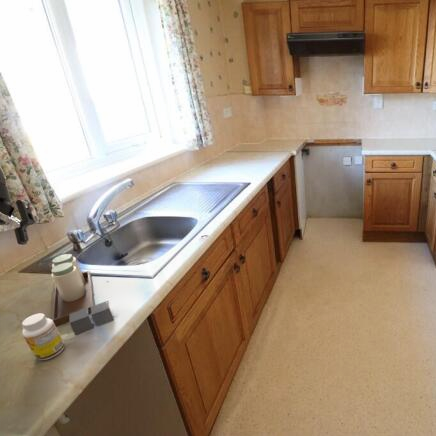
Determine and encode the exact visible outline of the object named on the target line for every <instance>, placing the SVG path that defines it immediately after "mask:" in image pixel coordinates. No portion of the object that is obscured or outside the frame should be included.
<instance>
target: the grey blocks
mask: <svg viewBox="0 0 436 436" xmlns="http://www.w3.org/2000/svg"><path fill="white" fill-rule="evenodd" d="M114 320H115V317H114V313H113V309H112V307H111V304H110V301H109V300H105V301H103V302H100V303H98V304H95V306H92V307H91V314H90V312H89V309H88V308H86V309H83V310H80V311H78V312H75V313H72V314H69V322H68V323H69V325H70V327H71V330H72V331H73V333H74V335H75V336H76V335H79V334H81V333H84V332H87V331H89V330H91V329H94V328H95V327H99V326H103V325H105V324H108V323H110V322H113V321H114ZM94 325H95V327H94Z"/></svg>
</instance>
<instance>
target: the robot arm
mask: <svg viewBox="0 0 436 436" xmlns="http://www.w3.org/2000/svg"><path fill="white" fill-rule="evenodd" d="M15 210H16V211H18V213H19V216H20V219H21V220H20V219H19V218H17V217H15V216H14V215H13V214H14V212H15ZM33 215H34V214H33V212H32V209H31V206H30V204H29V202H28V201H25V200H22V199H17V200H16V201H15V202H12V197H11V194H10V190H9V186H8V180H7V178H6V175H5V172H4V170H3V168H2V165H1V163H0V226H5V225H7V224H9V225H10V226H12V227H13V228H14V230H13V231H14V234H15V238H16V243H17V244H18V245H19V246H20V245H21V246H25V245H27V244H28V242H29V240H30V238H29V235H28V231H27V228H28V227H29V226H30V225H34V224H35V223H36V221H35V217H34V216H33Z"/></svg>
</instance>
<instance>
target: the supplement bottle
mask: <svg viewBox="0 0 436 436" xmlns="http://www.w3.org/2000/svg"><path fill="white" fill-rule="evenodd" d="M21 325H22V327H23V329H22V332H21V334H22V337H23V339H24V340H25V342H26V344H27V345H28V347H29V348H30V350H31V352H32V353H33V355H34V357H35V359H37V360H38V361H47V360H50V359H53V358H54V357H57V356H59V354H61V353H62V352H63V350H64V349H65V347H66V344H65V341H64V339H63V337H62V335H61V334H60V332H59V330H58V328H57V326H55V324H54V322H53V320H51V318H49V317H46V315H45V314H44V313H35V314H31V315H30V316H28V317H26V318H25V319H24V320H22V323H21Z"/></svg>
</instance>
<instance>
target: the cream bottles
mask: <svg viewBox="0 0 436 436" xmlns="http://www.w3.org/2000/svg"><path fill="white" fill-rule="evenodd" d="M51 262H52V264H51V267H52V268H51V270H50V271H51V274H50V276H51V278H52V280H53V284H54V283H55V285H56V287H57V289H58V291H59V293H60V295H61V297H62V299H63V301H65V302H70V301H74V300H77V299H79V298H81V297H83V296H84V295H85V294H86V289H85V287H84V284H85V282H86V281H85V279H84V276H83V274H82V273H83V272H82V270H81V268H80V265H79V262H78V261H77V258H76V257H75V256H73V255H72V253H65V254H60V255H57V256H56V257H54V258H53V259H52V260H51Z"/></svg>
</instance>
